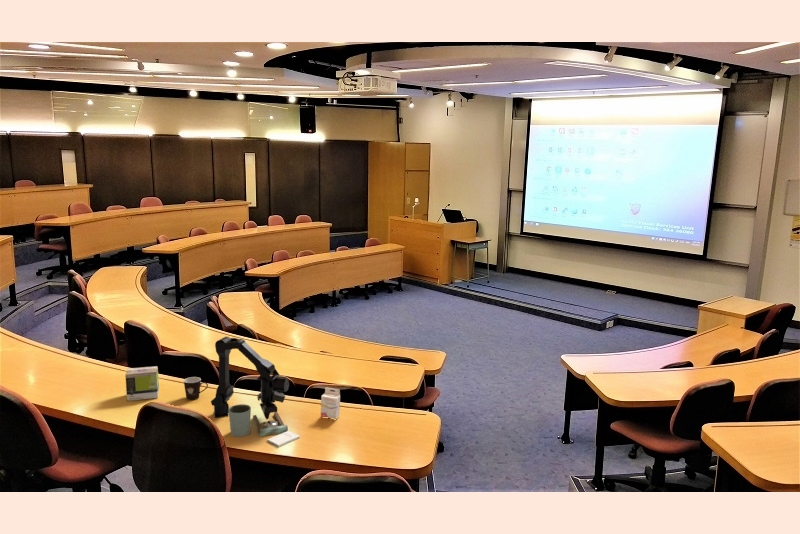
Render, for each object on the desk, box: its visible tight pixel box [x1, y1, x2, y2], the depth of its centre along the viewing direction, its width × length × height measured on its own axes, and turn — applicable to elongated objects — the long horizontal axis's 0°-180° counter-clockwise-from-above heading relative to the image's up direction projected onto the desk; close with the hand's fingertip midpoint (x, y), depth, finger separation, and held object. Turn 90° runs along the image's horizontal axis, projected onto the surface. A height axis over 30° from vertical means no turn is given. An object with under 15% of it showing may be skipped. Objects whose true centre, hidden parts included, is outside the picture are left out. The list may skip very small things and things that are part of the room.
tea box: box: [125, 365, 160, 401], centre depth 301 cm, size 15×10×15 cm
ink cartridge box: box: [320, 387, 341, 419], centre depth 283 cm, size 9×5×15 cm, turn 74°
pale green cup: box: [228, 403, 252, 438], centre depth 264 cm, size 10×10×12 cm
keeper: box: [264, 420, 279, 428], centre depth 270 cm, size 6×6×3 cm
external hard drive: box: [266, 430, 301, 448], centre depth 260 cm, size 2×8×12 cm
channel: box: [252, 411, 289, 437], centre depth 274 cm, size 13×20×2 cm, turn 25°
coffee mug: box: [183, 376, 209, 401], centre depth 301 cm, size 12×9×10 cm
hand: (267, 419), depth 278 cm, fingers closed
